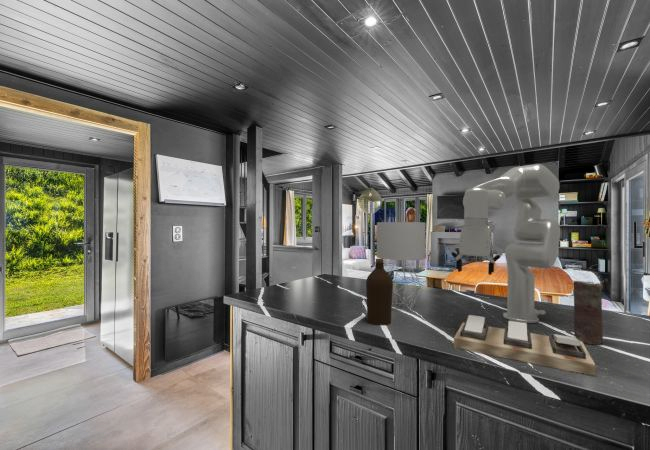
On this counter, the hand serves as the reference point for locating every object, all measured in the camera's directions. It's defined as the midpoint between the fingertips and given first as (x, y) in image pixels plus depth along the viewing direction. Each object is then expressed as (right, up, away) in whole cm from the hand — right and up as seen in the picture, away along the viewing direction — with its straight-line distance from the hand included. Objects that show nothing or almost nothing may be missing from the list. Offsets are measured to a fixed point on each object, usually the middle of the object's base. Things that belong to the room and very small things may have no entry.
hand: (474, 272), depth 107 cm
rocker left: (-2, -17, -5) cm, 18 cm away
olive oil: (-31, -22, +16) cm, 41 cm away
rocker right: (+18, -18, -17) cm, 31 cm away
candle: (+36, -23, -4) cm, 43 cm away
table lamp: (-16, -22, +39) cm, 48 cm away
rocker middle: (+8, -18, -11) cm, 22 cm away
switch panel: (+8, -22, -11) cm, 26 cm away
